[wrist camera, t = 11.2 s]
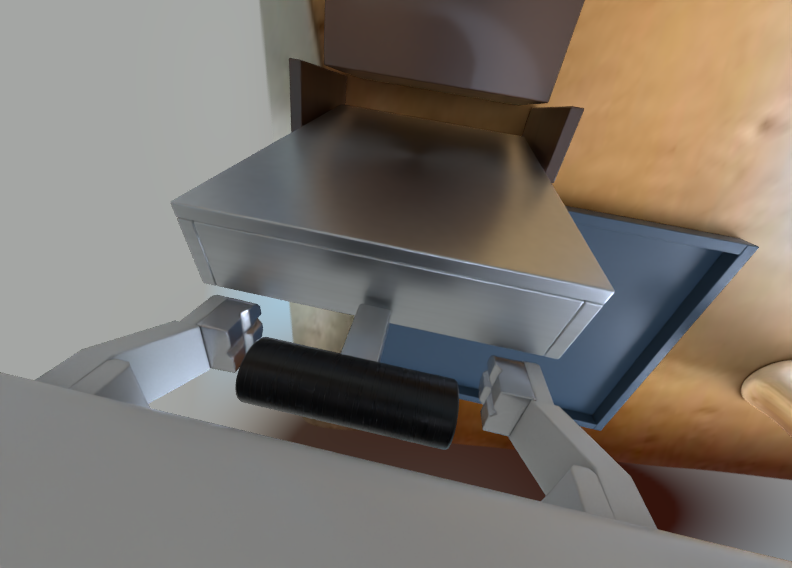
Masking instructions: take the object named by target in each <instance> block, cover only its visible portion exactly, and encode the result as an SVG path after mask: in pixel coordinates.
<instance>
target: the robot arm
mask: <svg viewBox="0 0 792 568" xmlns="http://www.w3.org/2000/svg"><path fill="white" fill-rule="evenodd" d="M260 315H261V309H260V306H259V305H258V304H254V303H250V302H246V301H242V300H238V299H234V298H229V297H224V296H220V295H214V296H212V297H210V298H209V299H208V300H207V301H205V302H204V303H203V304H201V305H200V306H199V307H198V308H196V309H195V310H194V311H192V312H191V313H190V314H189V315H187V316H186V317H185V318H183V319H182V320H181V321H180V322H179V321H172V322H169V323H166V324H163V325H160V326H156V327H153V328H150V329H146V330H143V331H140V332H137V333H134V334H131V335H127V336H124V337H121V338H117V339H114V340H111V341H108V342H104V343H101V344H98V345H95V346H91V347H88V348H85V349H82V350H80V351H79V352H77V353H76V354H74V355H73V356H71V357H70V358H68V359H67V360H65V361H63V362H62V363H60V364H59V365H57V366H56V367H54V368H53V369H51V370H50V371H48V372H47V373H45V374H43V375H42V376H40V377H39V378H37V379H36V380H30V379H26V378H22V377H18V376H13V375H9V374H5V373H1V372H0V568H792V561H787V560H783V559H779V558H775V557H770V556H766V555H762V554H758V553H754V552H749V551H745V550H741V549H736V548H733V547H728V546H724V545H720V544H716V543H711V542H707V541H703V540H699V539H694V538H691V537H686V536H682V535H678V534H674V533H670V532H666V531H661V530H657V528H656V526H655V524H654V522H653V520H652V518H651V516H650V514H649V512H648V510H647V508H646V506H645V504H644V502H643V500H642V498H641V496H640V494H639V492H638V490H637V488H636V486H635V484H634V482H633V480H632V478H631V476H630V475H628V473H627V472H625V471H624V470H623V469H622V468H621V467H620V466H619V465H618V464H617V463H616V462H615V461H614V460H613V459H612V458H611V457H610V456H609V455H608V454H607V453H606V452H605V451H604V450H603V449H602V448H601V447H600V446H599V445H598V444H597V443H596V442H595V441H594V440H593V439H592V438H591V437H590V436H589V435H588V434H587V433H586V432H585V431H584V430H583V429H582V428H581V427H580V426H579V425H578V424H577V423H576V422H575V421H574V420H573V419H572V418H571V417H570V416H569V415H568V414H567V413H566V412H565V411H563V410H562V409H561V408H560V407H559V406H556V405H554V403H553V400H552V398H551V395H550V392H549V390H548V387H547V384H546V382H545V379H544V376H543V374H542V371H541V368H540V366H539V365H538V364H536V363H531V362H525V361H519V360H514V359H509V358H505V357H500V356H495V355H491V356H490V358H489V360H488V362H487V366H488V370H486V371H484V372H483V373H482V376H481V378H480V383H479V400H480V401H481V403H482V404H483V407H482V409H481V411H480V412H481V420H482V428H483V430H485V431H489V432H493V433H497V434H501V435H505V436H509V439H510V441H511V442H512V444H513V445H514V447H515V448H516V450H517V451H518V453H519V454H520V456H521V458H522V459H523V461H524V462H525V464H526V465H527V467H528V468H529V470H530V472H531V473H532V475H533V476H534V478H535V479H536V481H537V482H538V484H539V486H540V487H541V489H542V490H543V492H544V493H545V495H546V497H545V498H544V499H543V500H542V501H541V502H540V501H536V500H531V499H528V498H524V497H519V496H515V495H511V494H507V493H503V492H499V491H494V490H490V489H486V488H481V487H478V486H473V485H469V484H465V483H461V482H457V481H453V480H447V479H444V478H440V477H436V476H432V475H427V474H423V473H419V472H415V471H411V470H406V469H402V468H398V467H394V466H390V465H385V464H381V463H377V462H373V461H368V460H364V459H360V458H356V457H352V456H347V455H343V454H339V453H334V452H331V451H327V450H322V449H318V448H314V447H310V446H306V445H301V444H297V443H293V442H289V441H285V440H281V439H277V438H273V437H268V436H264V435H260V434H255V433H252V432H247V431H243V430H239V429H235V428H230V427H226V426H222V425H218V424H214V423H210V422H205V421H202V420H197V419H193V418H189V417H185V416H181V415H176V414H172V413H168V412H164V411H160V410H155V409H151V408H150V407H149V405H148V404H149V403H150V402H152V401H154V400H156V399H158V398H159V397H161V396H163V395H165V394H167V393H168V392H170V391H172V390H173V389H176V388H177V387H179V386H181V385H183V384H185V383H187V382H188V381H190V380H192V379H194V378H196V377H197V376H199V375H201V374H203V373H205V372H206V371H208V370H210V368H213V369H218V370H223V371H228V372H233V373H235V372H236V371H237V370H238V369H239V367H240V365H241V363H242V361H243V358H244V356H245V355H246V353H247V351H248V350H249V348H250V347H251V346H252V345H253V343H255V342H256V341H257V340H258V339H260V338H261V337H262V332H263V326H262V323H261V322H260V321H259V319H258V317H259V316H260Z"/></svg>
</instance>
